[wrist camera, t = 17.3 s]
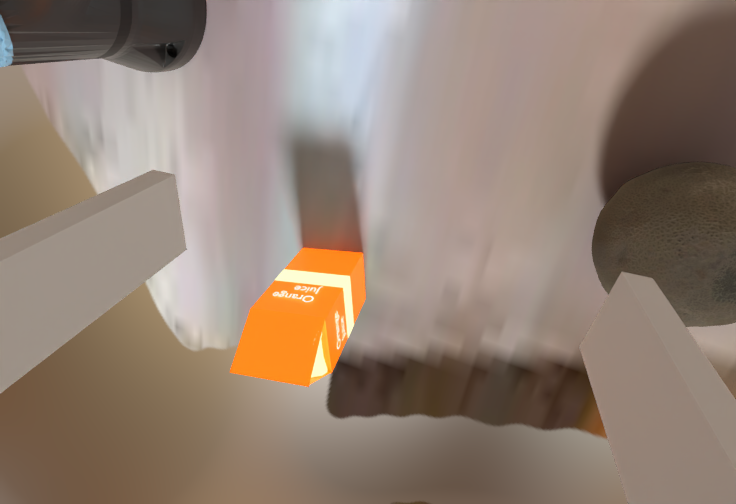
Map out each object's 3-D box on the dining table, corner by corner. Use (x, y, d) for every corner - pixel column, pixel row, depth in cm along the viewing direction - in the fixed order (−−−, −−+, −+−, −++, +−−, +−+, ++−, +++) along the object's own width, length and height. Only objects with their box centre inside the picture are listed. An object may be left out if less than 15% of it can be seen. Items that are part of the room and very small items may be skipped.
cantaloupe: (772, 193, 37) (921, 275, 24) (647, 290, 45) (711, 392, 32) (650, 113, 36) (737, 155, 24) (544, 225, 44) (568, 302, 31)
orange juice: (366, 299, 56) (314, 414, 39) (308, 292, 58) (236, 398, 41) (363, 251, 52) (304, 355, 35) (302, 246, 54) (219, 341, 37)
